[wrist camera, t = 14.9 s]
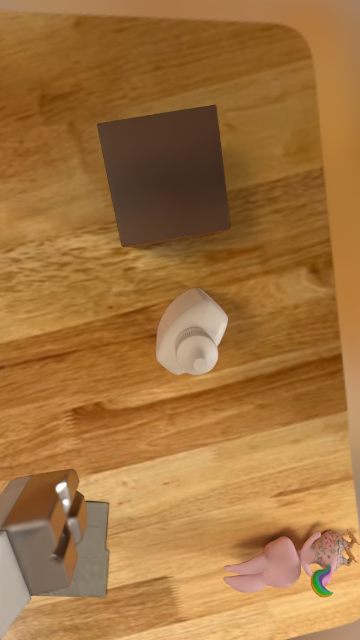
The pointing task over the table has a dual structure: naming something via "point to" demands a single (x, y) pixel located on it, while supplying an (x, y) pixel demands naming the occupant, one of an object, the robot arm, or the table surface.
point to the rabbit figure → (293, 563)
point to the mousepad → (90, 557)
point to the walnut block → (166, 176)
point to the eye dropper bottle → (190, 333)
